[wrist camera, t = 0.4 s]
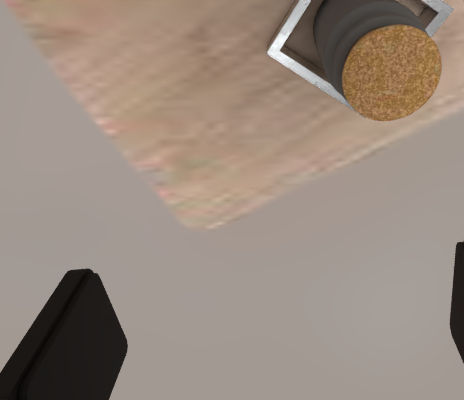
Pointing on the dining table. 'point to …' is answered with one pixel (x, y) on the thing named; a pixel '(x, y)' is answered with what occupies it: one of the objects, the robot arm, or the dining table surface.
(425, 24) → the collar
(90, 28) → the dining table surface
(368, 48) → the bottle
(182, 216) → the dining table surface
